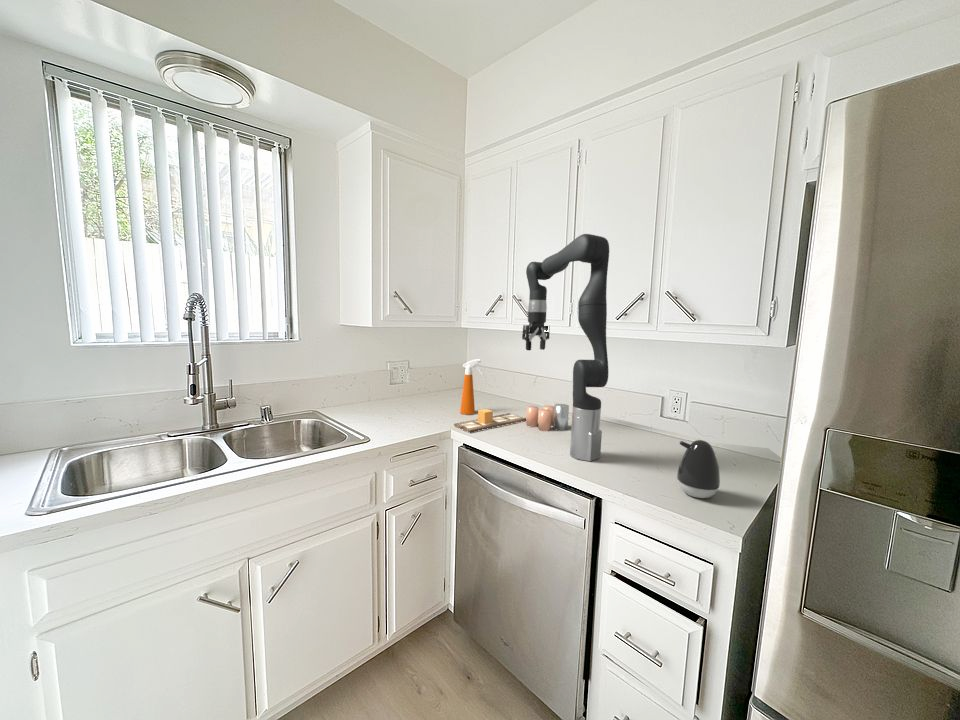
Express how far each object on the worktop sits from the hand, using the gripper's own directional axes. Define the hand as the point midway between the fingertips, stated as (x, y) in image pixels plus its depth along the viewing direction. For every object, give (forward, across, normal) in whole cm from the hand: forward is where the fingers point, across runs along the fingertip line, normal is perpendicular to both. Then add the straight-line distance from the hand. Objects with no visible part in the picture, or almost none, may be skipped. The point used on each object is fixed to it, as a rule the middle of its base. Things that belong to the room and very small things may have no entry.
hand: (535, 349), depth 164 cm
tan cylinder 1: (+33, -1, -1) cm, 33 cm away
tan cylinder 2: (+33, -8, +2) cm, 34 cm away
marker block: (+32, +16, -12) cm, 38 cm away
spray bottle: (+33, +8, -32) cm, 47 cm away
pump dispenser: (+33, +11, +71) cm, 79 cm away
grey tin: (+33, -8, +9) cm, 35 cm away
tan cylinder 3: (+33, -1, +6) cm, 34 cm away
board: (+33, +12, -13) cm, 38 cm away
